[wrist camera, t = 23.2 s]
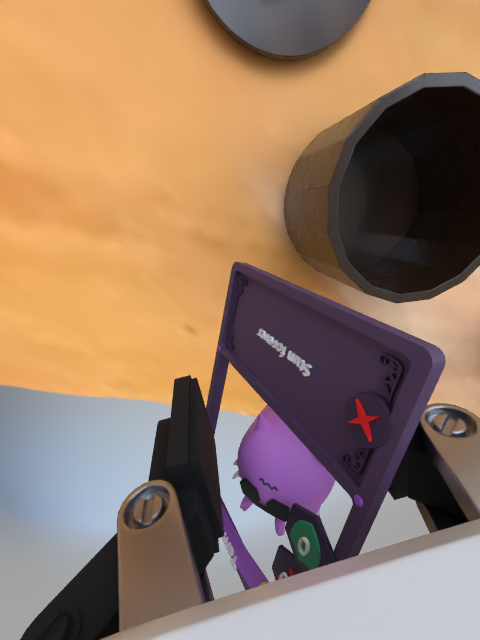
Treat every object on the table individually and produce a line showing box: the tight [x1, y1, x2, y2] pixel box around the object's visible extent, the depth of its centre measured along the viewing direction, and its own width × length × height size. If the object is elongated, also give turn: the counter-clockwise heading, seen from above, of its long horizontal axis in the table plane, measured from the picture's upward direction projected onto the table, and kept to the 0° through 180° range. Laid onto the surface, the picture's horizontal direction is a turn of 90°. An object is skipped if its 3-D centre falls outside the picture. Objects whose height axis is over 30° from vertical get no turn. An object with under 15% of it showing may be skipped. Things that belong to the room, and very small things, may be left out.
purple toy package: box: [206, 262, 445, 590], centre depth 9 cm, size 7×5×9 cm
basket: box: [284, 72, 480, 303], centre depth 24 cm, size 14×14×10 cm
